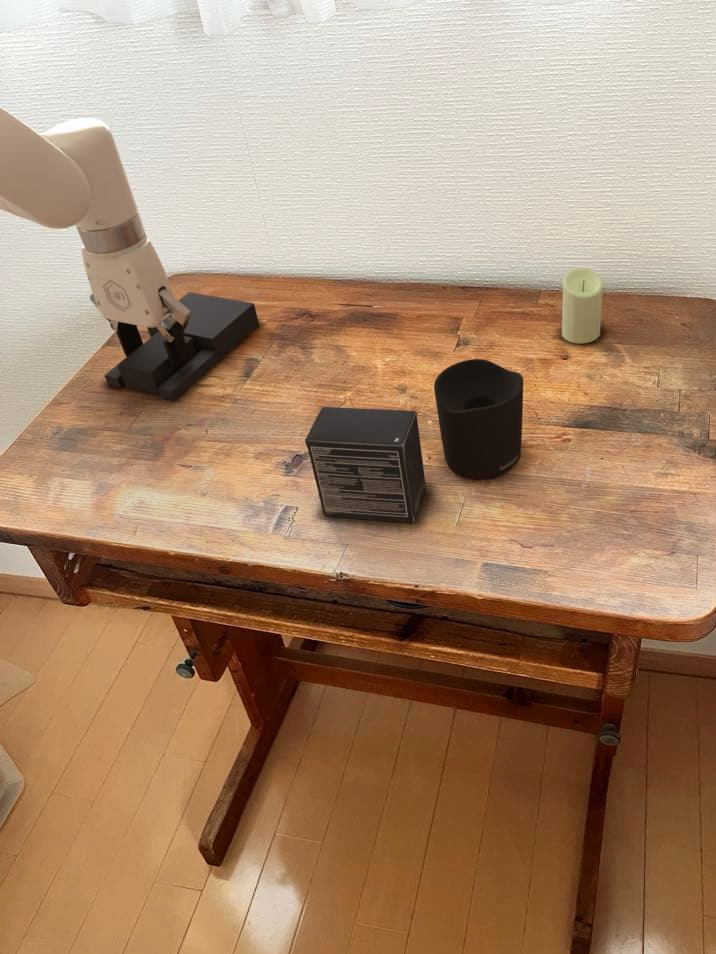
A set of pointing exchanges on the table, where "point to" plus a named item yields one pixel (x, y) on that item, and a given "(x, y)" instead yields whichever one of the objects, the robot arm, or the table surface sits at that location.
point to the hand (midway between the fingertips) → (157, 356)
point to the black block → (151, 364)
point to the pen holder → (480, 417)
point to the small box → (367, 463)
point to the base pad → (203, 338)
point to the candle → (581, 305)
